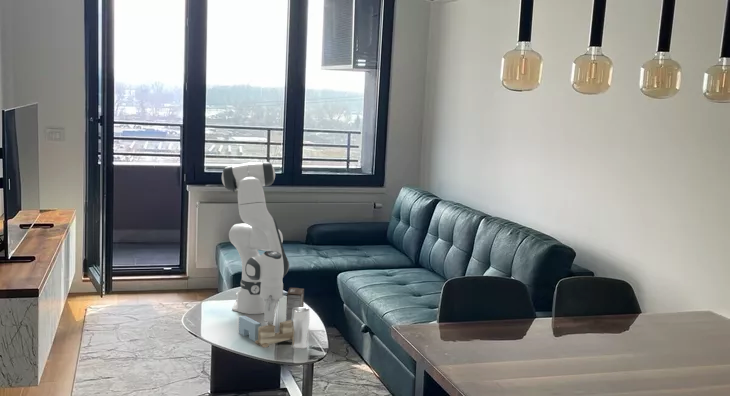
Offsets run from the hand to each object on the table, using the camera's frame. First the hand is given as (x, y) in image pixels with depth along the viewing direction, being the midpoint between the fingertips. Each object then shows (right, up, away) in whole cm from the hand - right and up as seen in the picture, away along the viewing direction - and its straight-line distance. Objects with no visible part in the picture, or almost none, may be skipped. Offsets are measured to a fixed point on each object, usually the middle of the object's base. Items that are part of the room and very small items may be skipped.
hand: (270, 326), depth 275 cm
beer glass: (+12, -7, -8) cm, 16 cm away
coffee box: (+8, -4, +15) cm, 17 cm away
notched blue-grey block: (-9, -4, +1) cm, 10 cm away
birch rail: (+3, -5, -3) cm, 7 cm away
